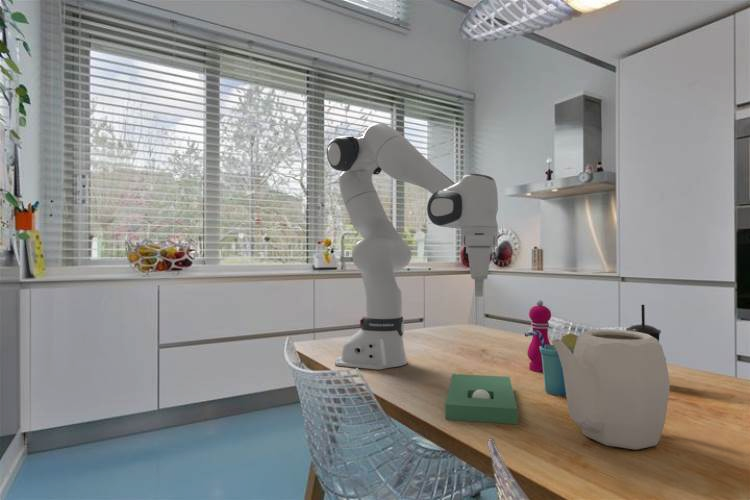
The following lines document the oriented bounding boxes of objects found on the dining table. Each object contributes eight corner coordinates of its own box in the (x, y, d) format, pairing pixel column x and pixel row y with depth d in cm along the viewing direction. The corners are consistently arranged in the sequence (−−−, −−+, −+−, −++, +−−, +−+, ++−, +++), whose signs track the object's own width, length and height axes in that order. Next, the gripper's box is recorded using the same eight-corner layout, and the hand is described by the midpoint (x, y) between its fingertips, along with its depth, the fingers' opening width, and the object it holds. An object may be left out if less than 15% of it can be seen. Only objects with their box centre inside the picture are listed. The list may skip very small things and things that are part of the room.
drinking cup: (664, 382, 116) (663, 304, 116) (658, 388, 110) (656, 307, 111) (631, 377, 121) (630, 302, 121) (623, 383, 116) (622, 305, 116)
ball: (471, 412, 97) (471, 398, 95) (471, 398, 100) (471, 384, 99) (490, 413, 96) (491, 399, 94) (490, 399, 99) (490, 385, 98)
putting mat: (445, 419, 92) (445, 404, 92) (452, 385, 115) (452, 373, 115) (517, 424, 88) (517, 408, 88) (509, 388, 112) (509, 376, 112)
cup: (534, 399, 104) (533, 333, 104) (518, 389, 111) (517, 328, 111) (589, 395, 106) (588, 331, 106) (570, 386, 113) (569, 326, 114)
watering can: (523, 434, 84) (521, 332, 84) (629, 415, 93) (628, 323, 93) (590, 471, 69) (588, 347, 69) (708, 444, 78) (706, 335, 79)
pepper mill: (550, 366, 133) (549, 298, 133) (557, 373, 126) (556, 301, 126) (525, 366, 134) (524, 298, 134) (530, 372, 127) (529, 301, 127)
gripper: (467, 240, 122) (466, 292, 122) (464, 238, 102) (464, 299, 102) (491, 240, 120) (491, 292, 120) (493, 238, 100) (493, 300, 100)
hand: (478, 296), depth 111 cm, fingers closed
